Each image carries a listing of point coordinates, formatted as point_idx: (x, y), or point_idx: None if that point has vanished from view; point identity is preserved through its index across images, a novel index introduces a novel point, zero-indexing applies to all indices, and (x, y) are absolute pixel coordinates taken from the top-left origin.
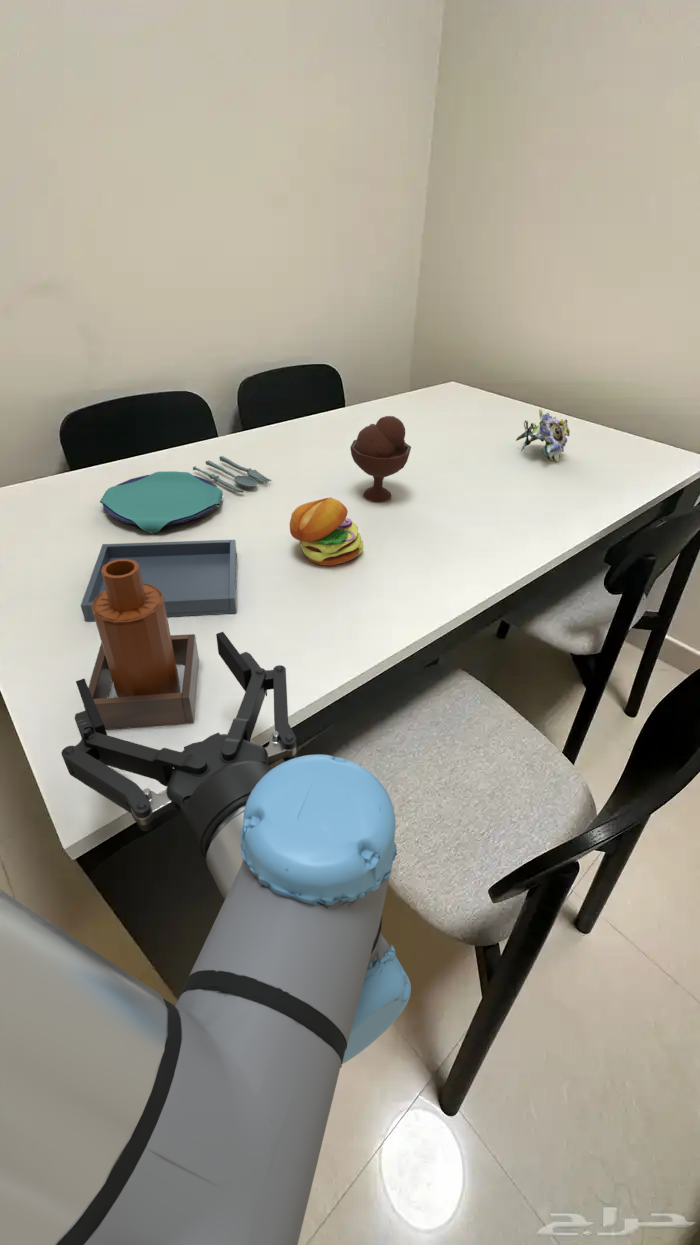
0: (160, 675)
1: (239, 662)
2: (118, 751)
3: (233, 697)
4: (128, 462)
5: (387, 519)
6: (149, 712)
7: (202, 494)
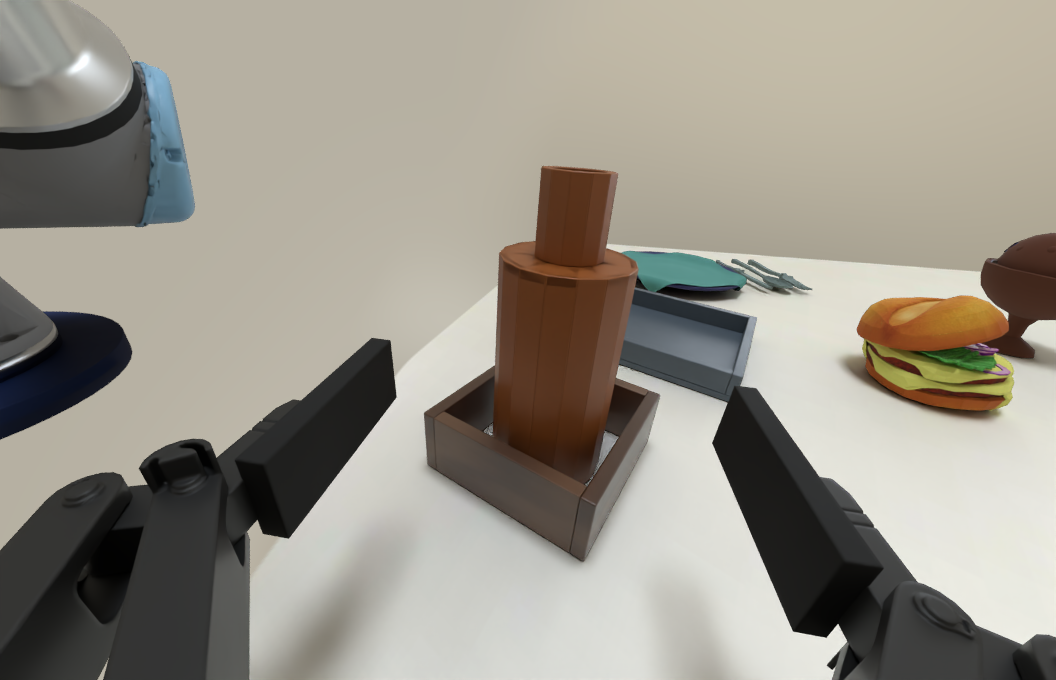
0: (565, 429)
1: (818, 507)
2: (120, 630)
3: (688, 554)
4: (653, 248)
5: (1040, 381)
6: (512, 488)
7: (721, 277)
